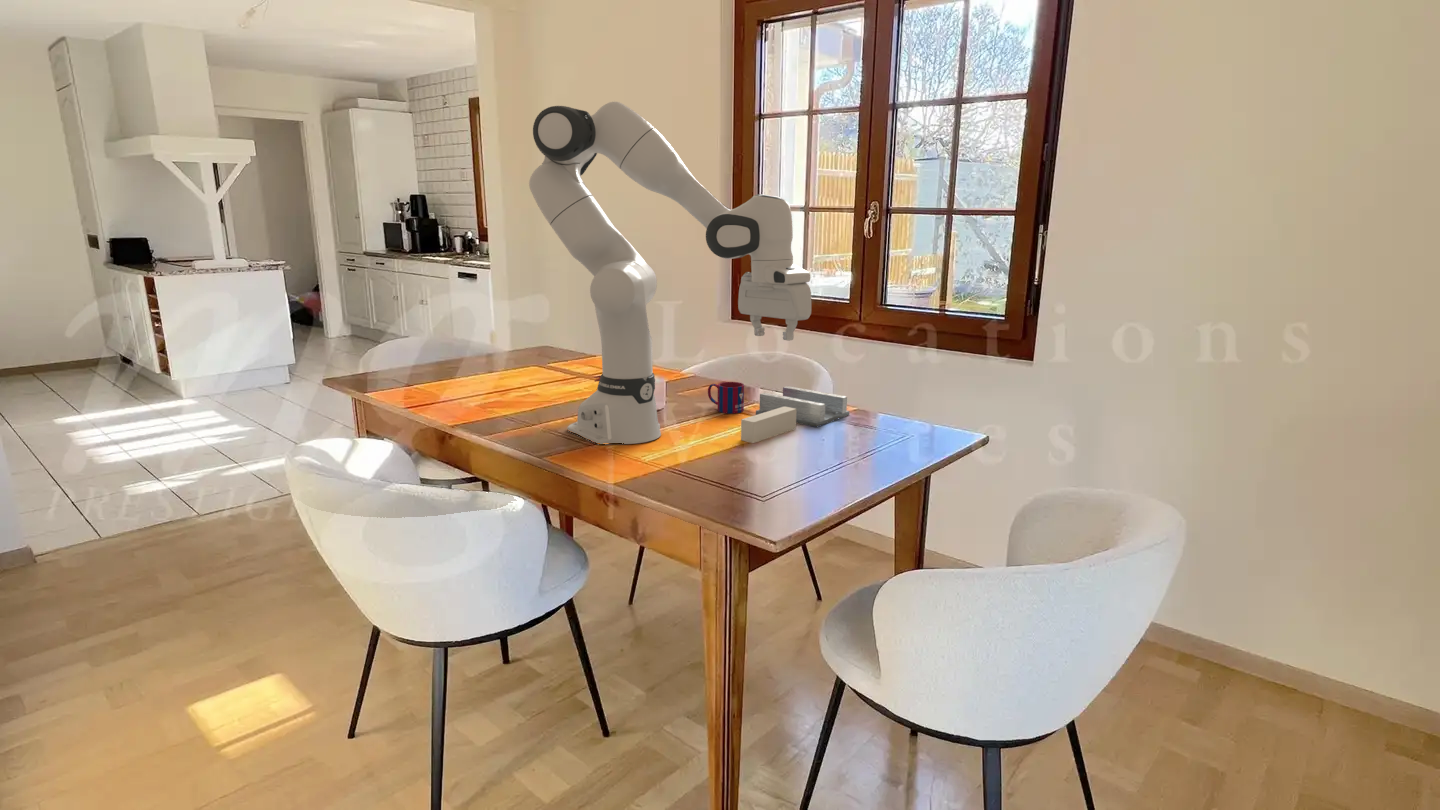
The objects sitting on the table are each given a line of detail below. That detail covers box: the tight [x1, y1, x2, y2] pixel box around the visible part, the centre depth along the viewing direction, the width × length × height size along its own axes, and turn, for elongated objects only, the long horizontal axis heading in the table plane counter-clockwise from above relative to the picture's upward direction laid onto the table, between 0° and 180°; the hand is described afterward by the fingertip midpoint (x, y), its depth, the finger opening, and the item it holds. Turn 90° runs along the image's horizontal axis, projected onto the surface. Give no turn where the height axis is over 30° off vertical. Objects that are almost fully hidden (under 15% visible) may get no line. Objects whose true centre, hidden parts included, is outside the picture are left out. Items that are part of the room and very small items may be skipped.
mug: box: [707, 381, 745, 415], centre depth 199 cm, size 7×10×7 cm
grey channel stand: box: [755, 385, 851, 428], centre depth 195 cm, size 18×15×5 cm
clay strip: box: [740, 406, 797, 444], centre depth 178 cm, size 4×16×5 cm, turn 139°
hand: (773, 337), depth 169 cm, fingers open, 8 cm apart
